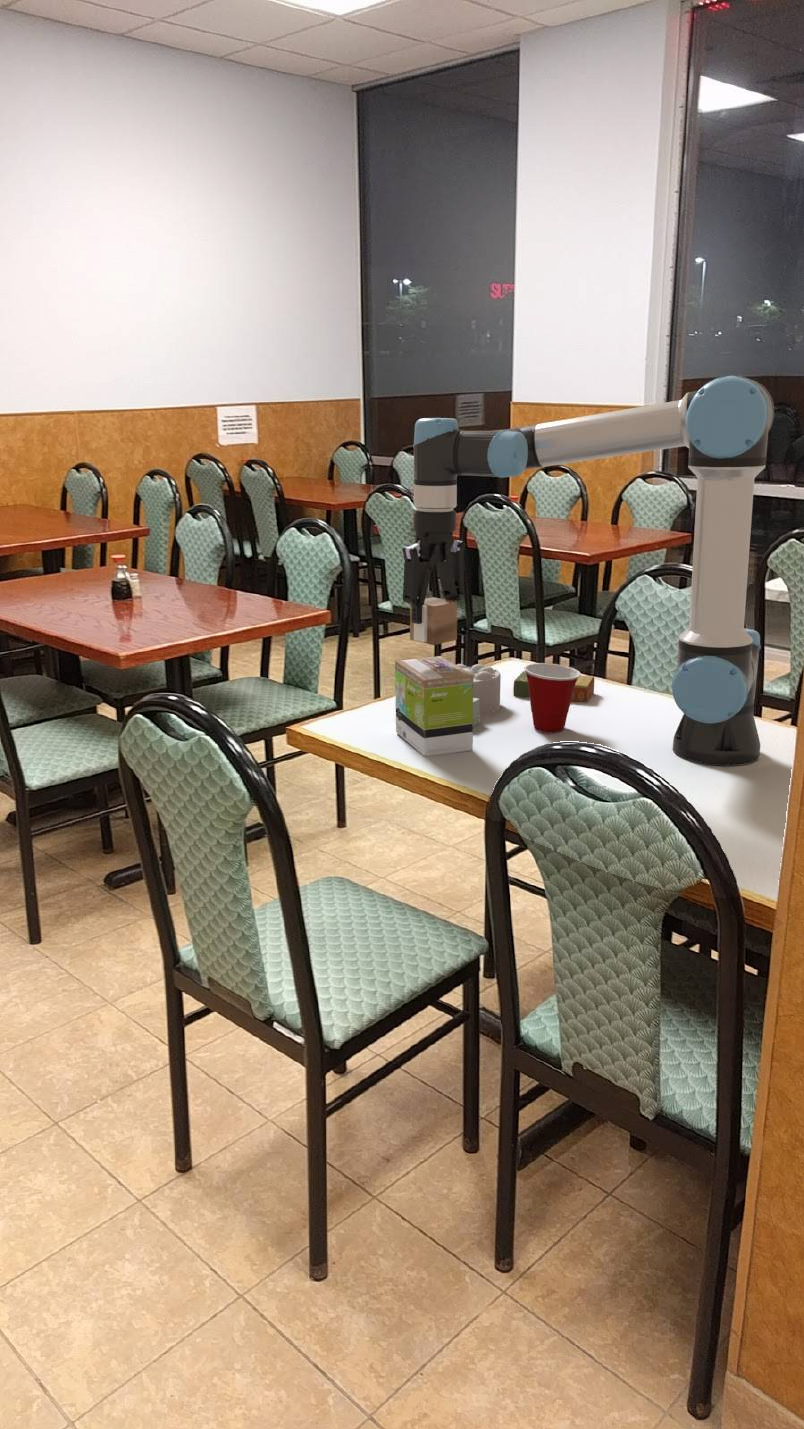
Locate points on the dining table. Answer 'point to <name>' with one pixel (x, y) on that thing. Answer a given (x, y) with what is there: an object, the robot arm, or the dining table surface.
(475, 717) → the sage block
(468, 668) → the lumpy-topped squat cylinder
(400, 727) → the tea box
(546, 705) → the plastic cup
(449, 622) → the brown box
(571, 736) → the dining table surface
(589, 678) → the carton
